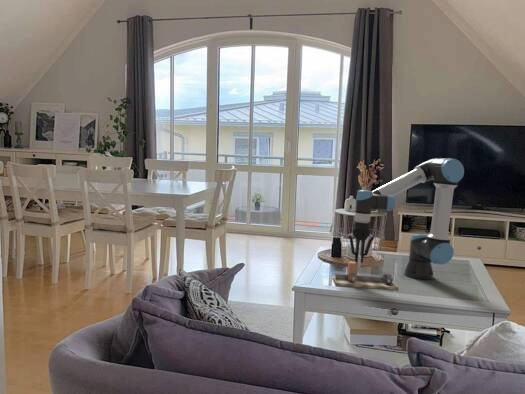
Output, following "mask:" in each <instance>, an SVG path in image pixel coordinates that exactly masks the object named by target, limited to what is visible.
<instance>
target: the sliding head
mask: <svg viewBox="0 0 525 394" xmlns="http://www.w3.org/2000/svg"><path fill="white" fill-rule="evenodd" d="M358 270H359V269H358V263H357V262H355V261H350V260H348V261H347V270H346V271H347V272H346V274H348V280H352V281H355V280H357V275H358Z"/></svg>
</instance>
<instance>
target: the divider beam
mask: <svg viewBox="0 0 525 394" xmlns="http://www.w3.org/2000/svg"><path fill="white" fill-rule="evenodd" d="M334 277H335V279H342V280H348V274H347V273H335V276H334ZM356 281H369V282H382V283H387V284H389V283H392V281H393V282H394V279H393V277H392V274H391V273H390V272H381V275H380V276H378V275H366V274H365V275H363V274H357V280H356Z"/></svg>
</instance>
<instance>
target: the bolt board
mask: <svg viewBox="0 0 525 394" xmlns="http://www.w3.org/2000/svg"><path fill="white" fill-rule="evenodd" d="M331 277H332V282H333V283H334V285H335V286H337V287H338V286H339V287H340V286H342V287H352V288H353V287H354V288H367V289H380V290H382V289H383V290H393V291H394V290H395V291H398V290H399V287H398V285H397V284H396V283H395V282H394V280H393V281H392V283H389V284H387V283H382V282H369V281H356V280H355V281H352V280H342V279H335V276H331Z"/></svg>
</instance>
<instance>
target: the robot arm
mask: <svg viewBox="0 0 525 394" xmlns="http://www.w3.org/2000/svg"><path fill="white" fill-rule="evenodd" d="M464 174H465V168H464V165H463V164H462V162H461V161H460V160H458V159H456V158H451V157H447V158H446V157H445V158H443V157H434V158H430V159H428V160H427V161H424V162H422V163H420V164H418V165H416V166H415V167H414V168H413V170H411V171H409V172H406V173H404V174H403V175H401V176H399V177H397V178H395V179H393V180H391V181H390V182H388V183H386V184H383V185H382V186H380V187H378V188H376V189H373V190H367V189H366V190H365V189H358V190H357V193H356V199H355V200H356V201H355V213H354V222H353V223H354V224H353V230H352V232H351V233H349V234H347V237H348V239H349V245H350V251H351V254H352V255H354V262H357V263H358V269H357V270H361V265H362V264H363V263H364V256H368V253H369V251H370V248H371V245H372V242H373V241H374V239H375V237H374V236H373V235H371V233H370V227H371V226H370V225H371V223H370V222H371V215H372V211H382V212H383V211H384V212H387V211H388V212H391V211H393V210H394V209H395V206H396V199H395V196H397V195H399V194H401V193H403V192H404V191H407V190H408V189H410V188H413V187H414V186H416V185H418V184H420V183H422V184H424V183H426V182H429V181H433V185H434V187H435V193H434V200H433V201H434V202H433V209H432V216H431V217H432V218H431V225H430V232H429V234H421V233H420V234H419V233H418V234H417V233H416V234H415V233H414V234H412V235H411V236H410V245H409V255H408V262H407V264H406V266H405V268H404V271H403V272H404V273H403V274H404V275H405V276H406V277H409V278H413V279H418V280H432V279H433V278H434V270H433V266H432V263H433V264H435V265H440V266H442V265H446V264H448V263H449V262H450V261H451V260H452V259H453V257H454V253H455V252H454V250H455V249H454V247H453V246H452V245H451V238H450V236H449V229H450V222H451V216H452V215H451V212H452V205H453V197H454V191H455V189H456V188H457V187H458V184H459V182H460V181H461V180H462V179H463V177H464ZM354 238H355V245H354ZM366 240H367V242H366ZM365 243H366V244H365ZM365 245H366V246H365ZM359 252H360V254H359ZM361 263H362V264H361Z"/></svg>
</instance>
